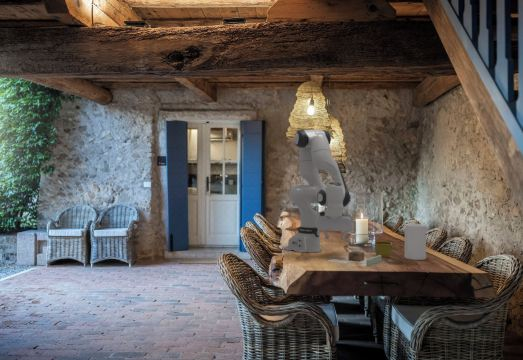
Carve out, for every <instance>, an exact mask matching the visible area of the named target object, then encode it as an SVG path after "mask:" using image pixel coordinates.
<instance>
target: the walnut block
mask: <svg viewBox="0 0 523 360" xmlns="http://www.w3.org/2000/svg"><path fill="white" fill-rule="evenodd" d="M348 257H349V258H348V259H349V260H350V261H351V262H352V261H358V262H357V263H360V261H363V260H364V259H365V252H364V251H356V250H352V251H350V252H348Z"/></svg>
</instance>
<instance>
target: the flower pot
mask: <svg viewBox="0 0 523 360" xmlns="http://www.w3.org/2000/svg"><path fill="white" fill-rule="evenodd" d="M374 247H375V248H374V250H375V254H376V256H378V255H381V259H383V258H385V259H389V258H390V257H391V255H392V247H393V243H392V242H391V241H379V240H378V241H376V240H375V241H374Z"/></svg>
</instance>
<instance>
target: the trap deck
mask: <svg viewBox="0 0 523 360" xmlns="http://www.w3.org/2000/svg"><path fill="white" fill-rule="evenodd" d="M340 257H341V258H345V256H342V255H341V256H340ZM346 258H347V259H335V258H331V259H329V260H327V262H331V263H338V264H339V263H340V264H348V263H350V262H353V263H362V264H360V266H362V267H370V266H373V265H375V264H377V263H380V262H382V257H381V255H378V256H377V255H376V256H373V257H369V258H364V260H363V261H360V262H358V261H350V260H349V256H346Z"/></svg>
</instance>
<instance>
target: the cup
mask: <svg viewBox="0 0 523 360" xmlns="http://www.w3.org/2000/svg"><path fill="white" fill-rule="evenodd" d="M403 251H404V254H403V255H404V258H405V259H406V260H410V261H411V260H413V261H424V260H426V258H427V224H422V223H405V224H404V250H403Z"/></svg>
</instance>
